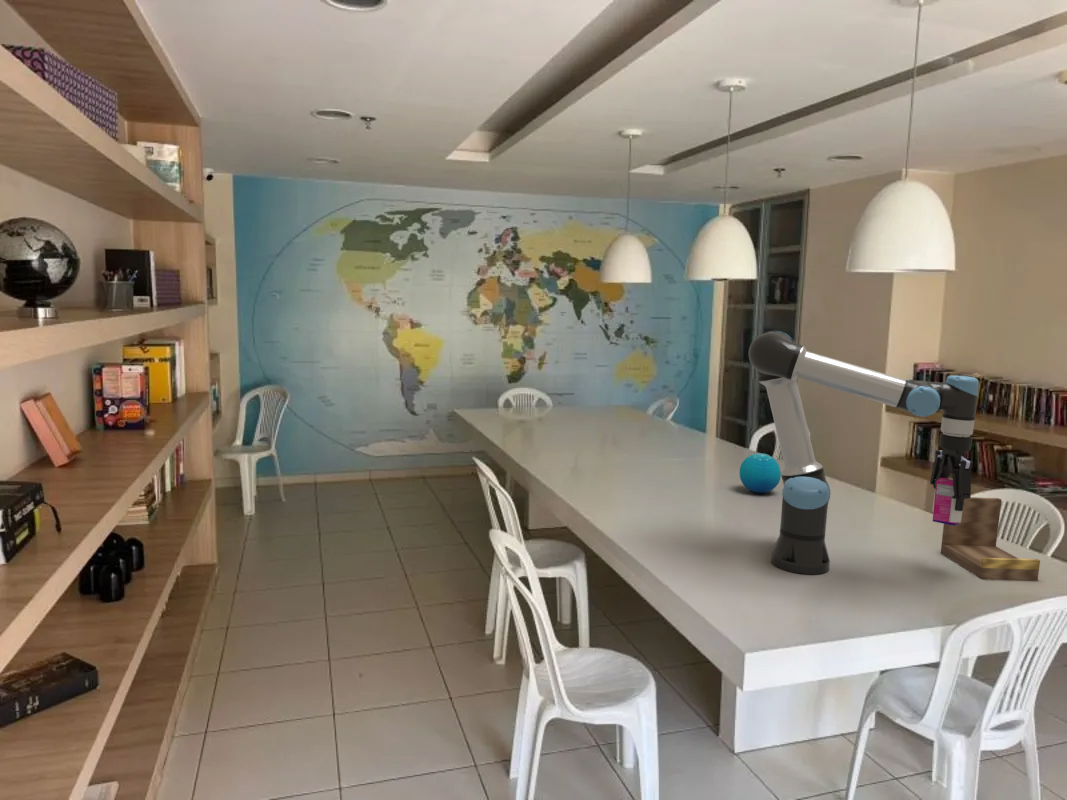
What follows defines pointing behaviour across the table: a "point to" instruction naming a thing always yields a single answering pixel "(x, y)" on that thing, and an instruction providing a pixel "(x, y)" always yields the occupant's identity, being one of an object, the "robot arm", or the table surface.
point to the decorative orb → (760, 473)
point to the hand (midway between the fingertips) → (946, 517)
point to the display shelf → (984, 544)
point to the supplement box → (943, 501)
